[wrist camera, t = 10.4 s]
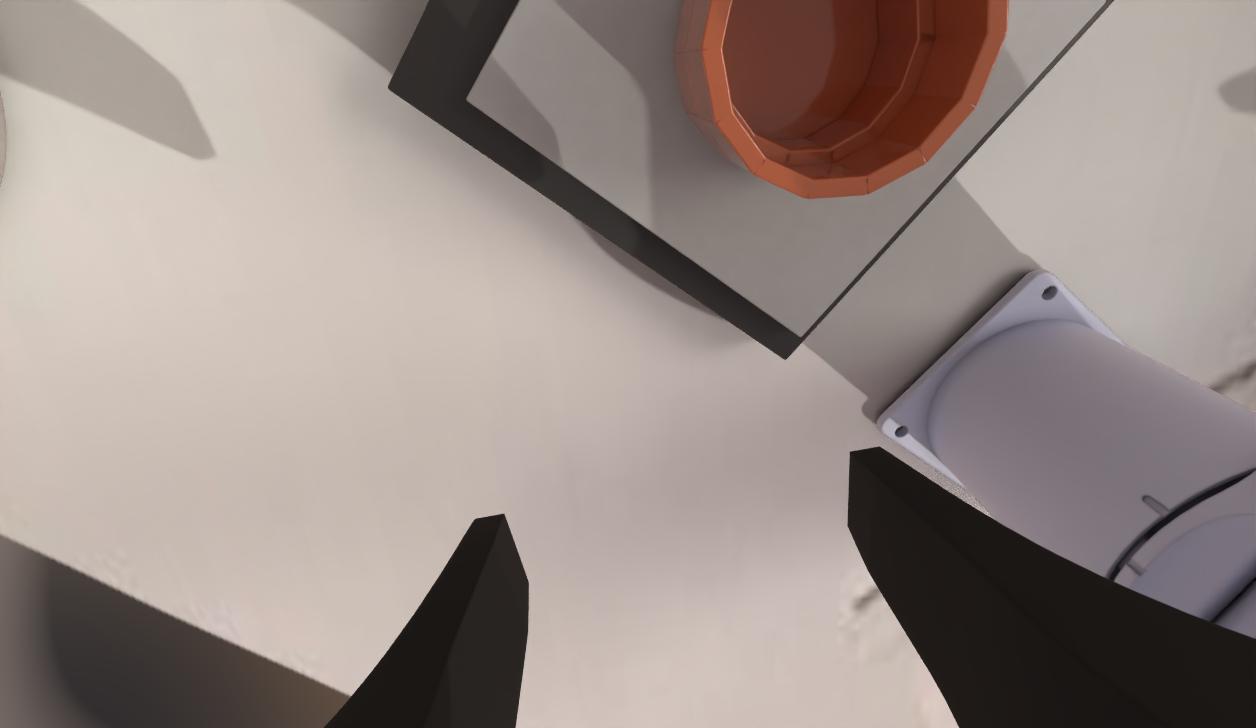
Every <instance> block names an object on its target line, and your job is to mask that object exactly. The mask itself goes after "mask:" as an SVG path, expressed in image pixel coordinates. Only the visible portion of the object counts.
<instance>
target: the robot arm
mask: <svg viewBox="0 0 1256 728" xmlns="http://www.w3.org/2000/svg"><path fill="white" fill-rule="evenodd" d="M1048 287H1049V289H1048V291H1047V292H1046V293H1045V294H1044V295H1042V294H1043V292H1044V290H1045V289H1046V288H1048ZM901 426H903V427H902V428H901V429H900V430H899V431H896V430H897V428H899V427H901ZM877 427H878V428H879V430H880V431H881V432H882V433H883V434H884V435H885V436H887V437H888V438H890V439H891V440H893V441H894V442H896V443H897V444H899V445H900V446H902V447H903V448H905V449H906V450H908V451H909V452H911V453H912V454H914V455H915V456H916V457H918V458H919V459H921V460H922V461H924V462H925V463H927V464H928V465H930V466H931V467H933V468H934V469H936V470H937V471H939V472H940V473H942V474H943V475H945V476H946V477H948V478H949V479H950V480H952V481H953V482H955V483H956V484H958V485H959V486H961V487H962V488H964V489H965V490H967V491H968V492H970V493H971V494H972V495H973V496H974V497H975V498H976V499H977V500H978V502H979V503H980V504H981V505H982V506H983V507H984V508H985V509H986V510H987V511H988V512H989V514H990V515H991V516H992V517H993V518H994V519H995V520H994V519H992V518H991V517H989V516H987V515H985V514H984V513H982V512H980V511H979V510H977V509H976V508H974V507H972V506H971V505H969V504H967V503H966V502H964V501H963V500H961V499H959V498H958V497H956V496H955V495H953V494H951V493H950V492H948V491H947V490H945V489H944V488H942V487H940V486H939V485H937V484H936V483H934V482H933V481H931V480H930V479H928V478H927V477H925V476H924V475H922V474H921V473H919V472H918V471H916V470H915V469H913V468H912V467H910V466H909V465H907V464H906V463H904V462H903V461H901V460H899V459H898V458H896V457H895V456H893V455H892V454H890V453H889V452H887V451H886V450H884V449H882V448H881V447H874V448H869V449H863V450H858V451H852V452H850V465H849V498H848V528H849V530H850V532H851V534H852V537H853V539H854V541H855V543H856V546H857V548H858V550H859V552H860V555H861V557H862V559H863V561H864V563H865V565H866V567H867V569H868V571H869V573H870V575H871V577H872V578H873V580H874V582H875V583H876V585H877V587H878V588H879V590H880V592H881V593H882V595H883V597H884V598H885V600H886V602H887V603H888V605H889V606H890V608H891V610H892V611H893V613H894V615H895V616H896V618H897V620H898V621H899V623H900V624H901V626H902V628H903V629H904V631H905V633H906V634H907V636H908V637H909V639H910V641H911V642H912V644H913V646H914V647H915V649H916V651H917V652H918V654H919V655H920V657H921V659H922V660H923V662H924V664H925V665H926V667H927V668H928V670H929V672H930V673H931V675H932V677H933V679H934V680H935V682H936V684H937V686H938V687H939V689H940V691H941V693H942V695H943V696H944V698H945V700H946V702H947V704H948V706H949V708H950V710H951V712H952V714H953V716H954V718H955V720H956V722H957V724H958V726H959V728H1256V412H1255V411H1253V410H1251V409H1249V408H1247V407H1245V406H1243V405H1241V404H1239V403H1237V402H1235V401H1233V400H1231V399H1229V398H1227V397H1225V396H1223V395H1221V394H1219V393H1217V392H1215V391H1213V390H1212V389H1210V388H1208V387H1206V386H1204V385H1202V384H1200V383H1198V382H1196V381H1194V380H1192V379H1190V378H1188V377H1186V376H1184V375H1182V374H1180V373H1178V372H1176V371H1174V370H1172V369H1170V368H1168V367H1166V366H1164V365H1162V364H1160V363H1158V362H1156V361H1154V360H1152V359H1150V358H1148V357H1146V356H1145V355H1143V354H1141V353H1139V352H1137V351H1135V350H1133V349H1131V348H1129V347H1128V346H1127V345H1126V344H1125V343H1124V342H1123V341H1122V340H1121V339H1120V338H1119V337H1118V336H1117V335H1116V334H1115V333H1114V332H1113V331H1112V330H1111V329H1110V328H1108V327H1107V326H1106V325H1105V324H1104V323H1103V322H1102V321H1101V320H1100V319H1099V318H1098V317H1097V316H1096V315H1095V314H1094V313H1093V312H1092V311H1091V310H1090V309H1089V308H1088V307H1087V306H1086V305H1085V304H1083V303H1082V302H1081V301H1080V300H1079V299H1078V298H1077V297H1076V296H1075V295H1074V294H1073V293H1072V292H1071V291H1070V290H1069V289H1068V288H1067V287H1066V286H1065V285H1064V284H1063V283H1062V282H1061V281H1059V280H1058V279H1057V278H1056V277H1055V276H1054V275H1053V274H1052V273H1050V272H1048V271H1046V270H1043V269H1035V270H1033V271H1031V272H1029V273H1028V274H1027V275H1025V276H1024V277H1023V278H1022V279H1021V280H1020V281H1019V282H1018V283H1017V284H1016V285H1015V286H1014V287H1013V288H1012V289H1011V290H1010V291H1009V292H1008V293H1007V294H1006V295H1005V296H1004V297H1003V298H1002V299H1001V300H1000V301H999V302H997V303H996V304H995V305H994V306H993V307H992V308H991V309H990V310H989V311H988V312H987V313H986V314H985V315H984V316H983V317H982V318H981V319H980V320H979V321H978V322H977V323H976V324H975V325H974V326H973V327H972V328H971V329H970V330H968V331H967V332H966V333H965V334H964V335H963V336H962V337H961V338H960V339H959V340H958V341H957V342H956V343H955V344H954V345H953V346H952V347H951V348H950V349H949V350H948V351H947V352H946V353H945V354H944V355H943V356H942V357H941V358H939V359H938V360H937V361H936V362H935V363H934V364H933V365H932V366H931V367H930V368H929V369H928V370H927V371H926V372H925V373H924V374H923V375H922V376H921V377H920V378H919V379H918V380H917V381H916V382H915V383H914V384H913V385H911V386H910V387H909V388H908V389H907V390H906V391H905V392H904V393H903V394H902V395H901V396H900V397H899V398H898V399H897V400H896V401H895V402H894V403H893V404H892V405H891V406H890V407H889V408H888V409H887V410H886V411H885V412H884V413H882V414H881V415H880V417H879V418H878V420H877ZM528 611H529V582H528V579H527V576H526V573H525V571H524V568H523V565H522V562H521V559H520V556H519V554H518V551H517V548H516V545H515V542H514V540H513V537H512V534H511V531H510V528H509V526H508V523H507V520H506V517H505V514H500V515H494V516H489V517H483V518H477V519H475V520H474V521H473V523H472V524H471V526H470V527H469V529H468V530H467V532H466V534H465V535H464V537H463V539H462V540H461V542H460V543H459V545H458V547H457V548H456V550H455V552H454V553H453V555H452V556H451V558H450V560H449V561H448V563H447V564H446V566H445V568H444V569H443V571H442V572H441V574H440V576H439V577H438V579H437V580H436V582H435V583H434V585H433V586H432V588H431V589H430V591H429V592H428V594H427V595H426V597H425V598H424V600H423V602H422V603H421V605H420V606H419V608H418V609H417V611H416V612H415V613H414V615H413V616H412V618H411V619H410V621H409V622H408V623H407V625H406V626H405V627H404V629H403V630H402V632H401V633H400V634H399V636H398V637H397V639H396V640H395V641H394V643H393V644H392V645H391V647H390V648H389V650H388V651H387V652H386V654H385V655H384V656H383V658H382V659H381V660H380V662H379V663H378V664H377V665H376V667H375V668H374V669H373V671H372V672H371V673H370V674H369V676H368V677H367V678H366V679H365V681H364V682H363V683H362V684H361V685H360V687H359V688H358V689H357V690H356V691H355V693H354V694H353V695H352V696H351V697H350V699H349V700H348V701H347V702H346V704H345V705H344V706H343V707H342V708H341V709H340V710H339V712H338V713H337V714H336V715H335V716H334V717H333V718H332V719H331V720H330V721H329V722H328V724H327V725H326V726H325V727H324V728H515V727H516V720H517V712H518V705H519V697H520V690H521V682H522V675H523V667H524V660H525V652H526V644H527V635H528Z"/></svg>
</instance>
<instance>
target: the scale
mask: <svg viewBox="0 0 1256 728" xmlns="http://www.w3.org/2000/svg"><path fill="white" fill-rule="evenodd" d="M1113 1H1114V0H1009V14H1008V31H1007V32H1006V33H1007V35H1006V38H1005V40H1004V43H1003V45H1002V47H1001V50H1000V52H999V55H998V57H997V60H996V62H995V64H994V67H993V69H992V72H991V74H990V76H989V79H988V81H987V84H986V86H985V88H984V91H983V93H982V96H981V98H980V100H979V103H978V105H977V106H975V107H976V108H975V110H974V111H973V112H972V113H971V114H970V115H969V116H968V117H967V119H966V120H965V121H964V122H963V123H962V124H961V125H960V126H959V128H958V129H957V130H956V131H955V132H954V133H953V134H952V136H951V137H950V138H949V139H948V140H947V141H946V142H945V143H944V145H943V146H942V147H941V148H940V149H939V150H938V151H937V152H936V154H935V155H934V156H933V157H932V158H931V159H930V160H929V161H928V162H926V164H925V165H923V166H921V167H919V168H917V169H915V170H913V171H911V172H910V173H908V174H906V175H904V176H902V177H900V178H898V179H896V180H895V181H893V182H891V183H889V184H887V185H885V186H883V187H882V188H880V189H878V190H876V191H874V192H872V193H870V194H867V195H863V196H849V197H834V198H820V199H807V198H806V199H804V198H802V197H800V196H798V195H795V194H793V193H791V192H789V191H786V190H784V189H782V188H780V187H778V186H775V185H773V184H771V183H769V182H767V181H764V180H762V179H760V178H758V177H756V176H754V175H752V174H750V173H749V172H747V171H745V170H744V169H742V168H741V167H739V166H737V165H736V164H734V163H733V162H731V161H730V160H728V159H726V158H725V157H723V156H721V155H720V154H719V153H717V152H716V151H714V149H713V148H712V147H711V145H710V144H709V143H708V141H707V140H706V139H705V138H704V136H703V135H702V134H701V132H700V131H699V130H698V128H697V127H696V126H695V124H694V123H693V122H692V120H691V119H690V118H689V116H688V115H687V114H686V110H685V109H684V105H683V101H682V96H681V91H680V87H679V82H678V77H677V72H676V68H675V63H674V58H673V56H674V52H673V49H674V44H675V38H676V33H677V27H678V22H679V17H680V11H681V6H682V0H429V2H428V4H427V6H426V9H425V11H424V13H423V15H422V17H421V19H420V21H419V23H418V25H417V27H416V29H415V31H414V33H413V35H412V38H411V40H410V42H409V44H408V46H407V48H406V50H405V52H404V54H403V56H402V58H401V60H400V62H399V64H398V67H397V69H396V71H395V73H394V75H393V77H392V79H391V81H390V83H389V85H388V89H389V90H390V91H392V92H393V93H394V94H396V95H397V96H399V97H400V98H402V99H403V100H405V101H406V102H408V103H409V104H411V105H412V106H414V107H415V108H416V109H418V110H419V111H421V112H422V113H424V114H425V115H427V116H428V117H430V118H431V119H433V120H434V121H436V122H437V123H438V124H440V125H441V126H443V127H444V128H446V129H447V130H449V131H450V132H452V133H453V134H455V135H456V136H457V137H459V138H460V139H462V140H463V141H465V142H466V143H468V144H469V145H471V146H472V147H474V148H475V149H477V150H478V151H479V152H481V153H482V154H484V155H485V156H487V157H488V158H490V159H491V160H493V161H494V162H496V163H497V164H499V165H500V166H501V167H503V168H504V169H506V170H507V171H509V172H510V173H512V174H513V175H515V176H516V177H518V178H519V179H520V180H522V181H523V182H525V183H526V184H528V185H529V186H531V187H532V188H534V189H535V190H537V191H538V192H540V193H541V194H542V195H544V196H545V197H547V198H548V199H550V200H551V201H553V202H554V203H556V204H557V205H559V206H560V207H562V208H563V209H564V210H566V211H567V212H569V213H570V214H572V215H573V216H575V217H576V218H578V219H579V220H581V221H582V222H583V223H585V224H586V225H588V226H589V227H591V228H592V229H594V230H595V231H597V232H598V233H600V234H601V235H603V236H604V237H605V238H607V239H608V240H610V241H611V242H613V243H614V244H616V245H617V246H619V247H620V248H622V249H623V250H625V251H626V252H627V253H629V254H630V255H632V256H633V257H635V258H636V259H638V260H639V261H641V262H642V263H644V264H645V265H646V266H648V267H649V268H651V269H652V270H654V271H655V272H657V273H658V274H660V275H661V276H663V277H664V278H666V279H667V280H668V281H670V282H671V283H673V284H674V285H676V286H677V287H679V288H680V289H682V290H683V291H685V292H686V293H688V294H689V295H690V296H692V297H693V298H695V299H696V300H698V301H699V302H701V303H702V304H704V305H705V306H707V307H708V308H710V309H711V310H712V311H714V312H715V313H717V314H718V315H720V316H721V317H723V318H724V319H726V320H727V321H729V322H730V323H731V324H733V325H734V326H736V327H737V328H739V329H740V330H742V331H743V332H745V333H746V334H748V335H749V336H751V337H752V338H753V339H755V340H756V341H758V342H759V343H761V344H762V345H764V346H765V347H767V348H768V349H770V350H771V351H773V352H774V353H775V354H777V355H778V356H780V357H781V358H783V359H785V360H786V359H787V358H788V357H789V356H790V355H791V354H792V353H793V352H794V351H795V350H796V348H797V347H798V346H799V345H800V344H801V343H802V342H803V341H804V340H805V339H806V337H807V336H808V335H809V334H810V333H811V332H812V331H813V330H814V329H815V328H816V326H817V325H818V324H819V323H820V322H821V321H822V320H823V319H824V318H825V317H826V316H827V314H828V313H829V312H830V311H831V310H832V309H833V308H834V307H835V306H836V305H837V303H838V302H839V301H840V300H841V299H842V298H843V297H844V296H845V295H846V294H847V293H848V291H849V290H850V289H851V288H852V287H853V286H854V285H855V284H856V283H857V282H858V280H859V279H860V278H861V277H862V276H863V275H864V274H865V273H866V272H867V271H868V270H869V268H870V267H871V266H872V265H873V264H874V263H875V262H876V261H877V260H878V259H879V257H880V256H881V255H882V254H883V253H884V252H885V251H886V250H887V249H888V248H889V247H890V245H891V244H892V243H893V242H894V241H895V240H896V239H897V238H898V237H899V236H900V234H901V233H902V232H903V231H904V230H905V229H906V228H907V227H908V226H909V225H910V223H911V222H912V221H913V220H914V219H915V218H916V217H917V216H918V215H919V214H920V213H921V211H922V210H923V209H924V208H925V207H926V206H927V205H928V204H929V203H930V202H931V200H932V199H933V198H934V197H935V196H936V195H937V194H938V193H939V192H940V191H941V190H942V188H943V187H944V186H945V185H946V184H947V183H948V182H949V181H950V180H951V179H952V177H953V176H954V175H955V174H956V173H957V172H958V171H959V170H960V169H961V168H962V167H963V165H964V164H965V163H966V162H967V161H968V160H969V159H970V158H971V157H972V156H973V154H974V153H975V152H976V151H977V150H978V149H979V148H980V147H981V146H982V145H983V144H984V142H985V141H986V140H987V139H988V138H989V137H990V136H991V135H992V134H993V133H994V131H995V130H996V129H997V128H998V127H999V126H1000V125H1001V124H1002V123H1003V122H1004V120H1005V119H1006V118H1007V117H1008V116H1009V115H1010V114H1011V113H1012V112H1013V111H1014V110H1015V108H1016V107H1017V106H1018V105H1019V104H1020V103H1021V102H1022V101H1023V100H1024V99H1025V97H1026V96H1027V95H1028V94H1029V93H1030V92H1031V91H1032V90H1033V89H1034V88H1035V87H1036V85H1037V84H1038V83H1039V82H1040V81H1041V80H1042V79H1043V78H1044V77H1045V76H1046V74H1047V73H1048V72H1049V71H1050V70H1051V69H1052V68H1053V67H1054V66H1055V65H1056V64H1057V62H1058V61H1059V60H1060V59H1061V58H1062V57H1063V56H1064V55H1065V54H1066V53H1067V51H1068V50H1069V49H1070V48H1071V47H1072V46H1073V45H1074V44H1075V43H1076V42H1077V41H1078V39H1079V38H1080V37H1081V36H1082V35H1083V34H1084V33H1085V32H1086V31H1087V30H1088V28H1089V27H1090V26H1091V25H1092V24H1093V23H1094V22H1095V21H1096V20H1097V19H1098V17H1099V16H1100V15H1101V14H1102V13H1103V12H1104V11H1105V10H1106V9H1107V8H1108V7H1109V5H1110V4H1111V3H1112V2H1113Z"/></svg>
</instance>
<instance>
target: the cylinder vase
mask: <svg viewBox="0 0 1256 728" xmlns="http://www.w3.org/2000/svg"><path fill="white" fill-rule="evenodd" d="M6 142H7V141H6V123H5V115H4V108H3V103H2V98H1V93H0V185H1V182H2V178H3V173H4V167H5V160H6Z"/></svg>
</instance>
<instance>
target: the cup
mask: <svg viewBox="0 0 1256 728" xmlns="http://www.w3.org/2000/svg"><path fill="white" fill-rule="evenodd" d="M1008 14H1009V0H682V6H681V11H680V17H679V22H678V27H677V33H676V38H675V44H674V49H673V52H674V56H673V58H674V63H675V68H676V72H677V77H678V82H679V87H680V91H681V96H682V101H683V105H684V109H685V110H686V114H687V115H688V116H689V118H690V119H691V120H692V122H693V123H694V124H695V126H696V127H697V128H698V130H699V131H700V132H701V134H702V135H703V136H704V138H705V139H706V140H707V141H708V143H709V144H710V145H711V147H712V148H713V149H714V151H716V152H717V153H719V154H720V155H721V156H723V157H725V158H726V159H728V160H730V161H731V162H733V163H734V164H736V165H737V166H739V167H741V168H742V169H744V170H745V171H747V172H749V173H750V174H752V175H754V176H756V177H758V178H760V179H762V180H764V181H767V182H769V183H771V184H773V185H775V186H778V187H780V188H782V189H784V190H786V191H789V192H791V193H793V194H795V195H798V196H800V197H802V198H804V199H806V198H807V199H820V198H834V197H849V196H863V195H867V194H870V193H872V192H874V191H876V190H878V189H880V188H882V187H883V186H885V185H887V184H889V183H891V182H893V181H895V180H896V179H898V178H900V177H902V176H904V175H906V174H908V173H910V172H911V171H913V170H915V169H917V168H919V167H921V166H923V165H925V164H926V162H928V161H929V160H930V159H931V158H932V157H933V156H934V155H935V154H936V152H937V151H938V150H939V149H940V148H941V147H942V146H943V145H944V143H945V142H946V141H947V140H948V139H949V138H950V137H951V136H952V134H953V133H954V132H955V131H956V130H957V129H958V128H959V126H960V125H961V124H962V123H963V122H964V121H965V120H966V119H967V117H968V116H969V115H970V114H971V113H972V112H973V111H974V110H975V108H976V107H975V106H977V105H978V103H979V100H980V98H981V96H982V93H983V91H984V88H985V86H986V84H987V81H988V79H989V76H990V74H991V72H992V69H993V67H994V64H995V62H996V60H997V57H998V55H999V52H1000V50H1001V47H1002V45H1003V43H1004V40H1005V38H1006V35H1007V33H1006V32H1007V31H1008Z"/></svg>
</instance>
